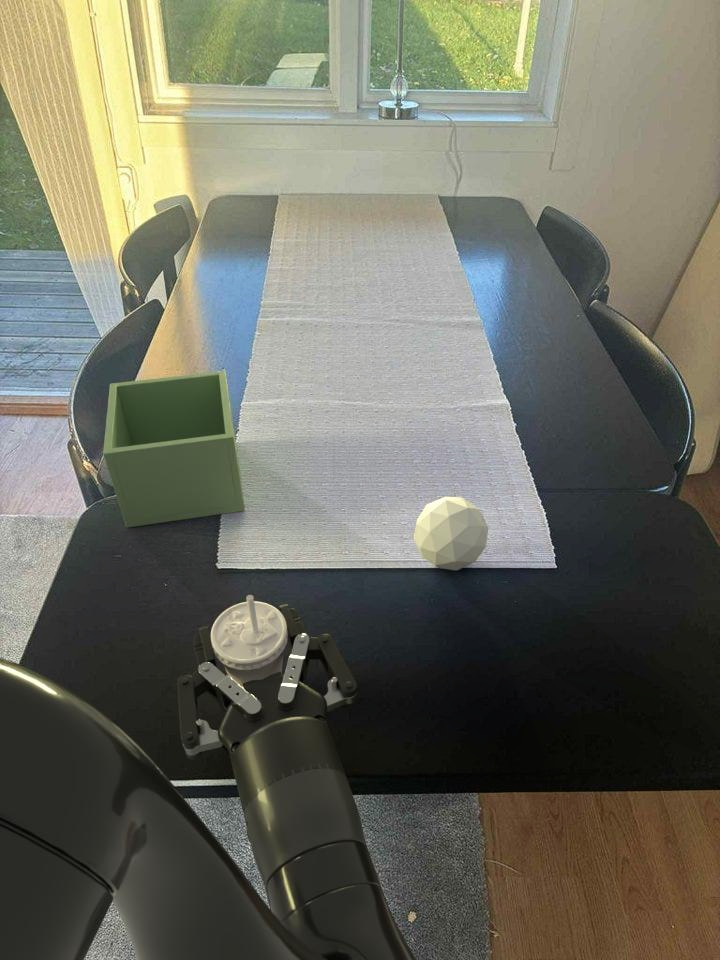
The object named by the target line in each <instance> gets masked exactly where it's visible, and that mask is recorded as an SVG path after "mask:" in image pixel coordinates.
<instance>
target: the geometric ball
mask: <svg viewBox="0 0 720 960" xmlns="http://www.w3.org/2000/svg"><path fill="white" fill-rule="evenodd" d="M488 535H489V526H488V523H487V521H486V519H485V517H484V515H483V513H482V510H481V509H480V508H479V507H478V506H476V505H474V504H473V503H471V502H470V501H468V500H467V499H465V498H463V497H457V496H456V497H455V496H454V497H453V496H444V497H441V498H439V499H437V500H434V501H432V502H430V503H427V504H426V505H425V506H424V508H423V509H422V512H420V514H419V517H418V518H417V519H416V524H415V529H414V534H413V540H414V542H415V545H416V547H417V549H418V551H419V554H420V555H421V557H422V558H423V559H424V560H426V561H427V562H429V563H431V564H432V565H434V566H435V567H436V568H438V569H443V570H449V571H456V572H457V571H459V570H461V569H463V568H465V567H467V566H469V565H471V564H474V563H476V561H477V560H478V559H479V557H480V556H481V554H482V553H483V552H484V550H485V549H486V547H487V542H488V537H489V536H488Z"/></svg>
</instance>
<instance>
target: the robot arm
mask: <svg viewBox="0 0 720 960" xmlns="http://www.w3.org/2000/svg"><path fill="white" fill-rule="evenodd" d="M278 607H279V611H280V612H281V613H282V615H283V616H284V618H285V621H286V625H287V630H288V640H287V642H288V644H289V647H290V649H291V653H290V655H289V656H288V659H287V662H286V667H285V671H284V673H282V674H281V672H277V673H274V674H271V675H269V676H268V677H266V678H264V679H262V680H251V681H248V682H245V683H243V686H242V687H241V686H240V685H239V684H238V683H237V682H235V681H234V680H233V679H232V678H231V677H230V676H229V675H228V674H224V673H223V671H221V670H220V669H219V668H218V666H217V661H216V656H215V654H214V652H213V649H212V644H211V636H210V632H209V629H208V625H206V626H203V627H199V628H198V631H199V634H198V635H194V636H193V640H192V643H193V647H194V648H193V649H194V652H195V656H196V657H195V658H196V662H197V668H196V670H195V671H194V672H193V673H192V674H190V675H189V674H183V675H181V676H180V677H178V679H177V682H176V685H177V700H178V701H177V703H178V713H179V714H178V715H179V728H180V729H179V731H180V740H181V743H182V747H183V749H184V752H185V755H186V757H187V759H188V760H191V761H196V760H198V759H200V758H201V757H202V756H203V752H205V751H206V752H207V751H211V750H215V749H219V748H222V750H223V751H224V752H226V753H227V755H228V757H229V758H230V762H231V766H232V771H233V775H234V779H235V783H236V788H237V793H238V798H239V800H240V805H241V809H242V813H243V818H244V823H245V827H246V836H247V839H248V842H249V844H250V847H251V851H252V855H253V859H254V862H255V864H256V867H257V869H258V872H259V874H260V877H261V880H262V883H263V886H264V890H265V894H266V897H267V898H266V899H267V902H268V904H267V903H266V902H265V901H264V899H263V898H262V897H261V895H260V894H259V892H258V891H257V890H256V888H255V887H254V885H252V883H251V882H250V881H249V879H248V877H246V875H245V874H244V872H243V871H242V868H240V867H239V865H238V864H237V862H236V861H235V860H234V859H233V857H232V856H231V854H229V852H228V850H227V849H226V848H225V847H224V845H223V844H222V843H221V842H220V841H219V839H218V838H217V837H216V836H215V835H214V833H213V832H212V831H211V830H210V828H209V827H208V826H207V825H206V824H205V822H204V821H203V820H202V819H201V817H200V816H199V815H198V814H197V813H196V811H195V810H194V808H193V807H192V806H191V805H190V803H188V801H187V800H186V799H185V797H184V796H183V795H182V794H181V792H180V791H179V789H178V788H177V787H176V786H175V785H174V783H173V782H172V781H171V780H170V779H169V778H168V776H167V775H166V774H165V772H164V771H162V769H161V768H160V767H159V766H158V764H157V763H156V762H155V761H154V760H153V759H152V758H151V756H149V755H148V754H147V752H146V751H145V750H144V749H143V748H142V747H141V746H140V745H139V743H138V742H136V741H135V740H134V739H133V738H132V737H131V736H130V735H129V734H128V733H127V732H126V731H125V730H124V729H123V728H122V727H121V726H119V724H117V723H116V722H114V721H113V720H112V719H110V717H108V716H107V715H106V714H105V713H103V712H102V711H101V710H99V709H98V708H97V707H95V706H94V705H93V704H92V703H90V702H89V701H88V700H87V699H85V698H84V697H83V696H81V695H79V694H78V693H76V692H74V691H72V690H70V689H69V688H68V687H66V686H64V685H62V684H61V683H58V682H57V681H55V680H54V679H52V678H50V677H48V676H46V675H45V674H42V673H40V672H38V671H36V670H34V669H31V668H29V667H27V666H25V665H22V664H19V663H17V662H15V661H12V660H8V659H6V658H3V657H0V960H85V959H86V958H87V955H88V954H89V951H90V950H91V947H92V946H93V943H94V941H95V939H96V937H97V935H98V932H99V931H100V928H101V926H102V924H103V922H104V921H105V918H106V916H107V914H108V912H109V910H110V908H111V905H112V904H113V906H114V907H115V909H116V911H117V913H118V915H119V916H120V918H121V921H122V923H123V925H124V928H125V930H126V933H127V936H128V938H129V940H130V943H131V945H132V947H133V950H134V953H135V957H136V960H417V958H416V956H415V955H414V953H413V951H412V949H411V948H410V946H409V944H408V942H407V941H406V939H405V937H404V936H403V933H402V931H401V930H400V928H399V925H398V924H397V922H396V919H395V918H394V915H393V914H392V911H391V908H390V906H389V904H388V902H387V898H386V896H385V893H384V890H383V887H382V885H381V881H380V879H379V876H378V872H377V870H376V868H375V865H374V861H373V859H372V855H371V853H370V851H369V848H368V845H367V842H366V837H365V834H364V829H363V828H364V827H363V824H362V819H361V815H360V811H359V809H358V808H359V807H358V806H357V803H356V800H355V797H354V794H353V792H352V789H351V786H350V784H349V781H348V778H347V775H346V772H345V769H344V766H343V763H342V761H341V758H340V756H339V753H338V750H337V747H336V744H335V741H334V739H333V736H332V733H331V730H330V727H329V725H328V721H327V720H328V716H329V715H328V713H329V712H331V711H334V710H337V709H338V708H341V707H343V708H345V709H347V710H352V709H354V708H356V706H357V705H358V684H357V681H356V679H355V678H354V676H353V674H352V672H351V670H350V668H349V666H348V665H347V662H346V661H345V659H344V658H343V655H342V653H341V652H340V650H339V648H338V646H337V645H336V643H335V640H334V639H333V637H332V636H331V635H330V634H328V633H322V634H320V635H319V636H318V637H312V636H310V635H308V633H307V632H306V629H305V626H304V623H303V621H302V618H301V616H300V613H299V611H298V609H296V608H295V607H294V608H290V607H289V604H288V603H285V604H281V605H279V606H278ZM311 660H313V661H314V660H319V661H320V664H321V665H322V667H323V669H324V671H325V673H326V675H327V677H328V679H329V680H328V681H327V687H326V688H327V693H326V694H325V695H323V693H320V692H319V691H317V690H316V689H314V688H312V687H311V686H309V685H307V684H306V683H307V676H308V670H309V666H310V662H311ZM205 693H207V694H208V695H209V696H211V697H212V699H213V700H215V702H217V703H218V705H219V707H220V709H222V710H223V711H224V712H225V713H224V716H223V717H222V720H221V722H220V724H219V726H218V729H212V728H211V727H210V724H209V722H208V721H207V720H204V719H200V709H199V700H198V697H200V696H202V695H203V694H205Z"/></svg>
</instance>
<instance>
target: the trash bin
mask: <svg viewBox="0 0 720 960" xmlns="http://www.w3.org/2000/svg"><path fill="white" fill-rule="evenodd" d="M106 411H107V413H106V421H105V430H104V442H103V451H102V455H103V459H104V462H105V465H106V469H107V471H108V474H109V477H110V481H111V484H112V487H113V490H114V494H115V497H116V500H117V503H118V506H119V509H120V511H121V515H122V519H123V521H124V524H125V528H128V529H129V528H133V527H141V526H147V525H154V524H155V525H156V524H161V523H168V522H174V521H183V520H189V519H197V518H203V517H211V516H216V515H224V514H230V513H231V514H232V513H237V512H244V511H245V510H246V509H245V502H244V495H243V488H242V487H243V486H242V479H241V478H242V477H241V472H240V471H241V470H240V463H239V455H238V447H237V441H236V440H237V439H236V434H235V427H234V421H233V420H234V419H233V414H232V413H233V412H232V406H231V400H230V393H229V387H228V381H227V374H226V370H219V371H211V372H201V373H193V374H192V373H191V374H185V375H175V376H174V375H173V376H165V377H158V378H149V379H139V380H131V381H121V382H113V383H110V384H109V392H108V402H107V410H106Z"/></svg>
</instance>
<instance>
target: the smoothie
mask: <svg viewBox="0 0 720 960" xmlns="http://www.w3.org/2000/svg"><path fill="white" fill-rule="evenodd" d="M245 597H246V598H245V599H246V601H244V602H240V603H236V604H234V605H232V606H229V607H228V608H226V609H225V610H224V611H222V612H221V613H220V614H219V615H218V616H217V618H215V621H214V622H213V625H212V627H211V631H210V641H211V645H212V649H213V653H214V657H215V658H217V660H218V661H219V662H220V663H221V664H222V665H223V668H224V670H225V671H226V675H229V676H230V677H231V678H232V679H233V680H234V681H235V682H237V683H238V684H239V685H240V686H241V687H242V686H243V683H245V682H248V681H251V680H262V679H264V678H266V677H268V676H269V675H271V674H274V673H277V672H281V674H283V662H284V661H283V660H284V650H285V649H286V647H287V643H288V630H287V625H286V621H285V618H284V616H283V615H282V613H281V612H280V609H278V608H276V607H275V606H274V605H271V604H269V603H266V602H263V601H257V600H254V599H255V598H254V595H252V594H248V595H246V596H245Z"/></svg>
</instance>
